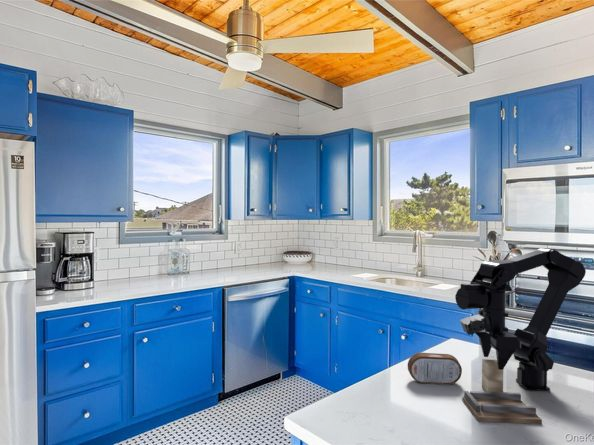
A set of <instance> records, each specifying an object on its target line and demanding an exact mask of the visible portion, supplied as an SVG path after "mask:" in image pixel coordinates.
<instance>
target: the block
mask: <svg viewBox="0 0 594 445" xmlns="http://www.w3.org/2000/svg"><path fill="white" fill-rule="evenodd" d="M481 388H482V389H483V390H484V392H504V369H503V370H499V369H498V364H497V359H485V358H484V359H482V361H481Z"/></svg>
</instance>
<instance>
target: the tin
mask: <svg viewBox="0 0 594 445" xmlns="http://www.w3.org/2000/svg"><path fill="white" fill-rule="evenodd" d="M462 370H463V369H462V366H461V363H460V361H459V360H458V359H457V358H456V357H455V356H454V355H452V354H449V353H435V352H433V353H432V352H418V353H415V354H413V355H411V356H410V358H409V359H408V362H407V371H408V373H409V375H410V377H411V378H412V379H413V380H414V381H416V382H418V383H419V384H430V385H431V384H434V385H453V384H455V383H458V381H459V380H460V379H461V377H462V374H463V372H462Z"/></svg>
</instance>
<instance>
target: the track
mask: <svg viewBox="0 0 594 445" xmlns="http://www.w3.org/2000/svg"><path fill="white" fill-rule="evenodd" d="M469 391H470V392H469ZM461 400H462V402H463V403H464V405H465V406H466V407H467V409H468V410H469V411H470V412H471V413H472V415H473V416H474V417H475V419H476V420H477V421H478V422H485V423H486V422H488V423H510V424H512V423H514V424H537V425H538V424H539V425H542V423H543V420H542V418H541V417H540V416H538V414H537V407H536V406H535V405H527V404H526V403H524V401H523V400H522V394H521V393H520V392H512V391H511V392H510V391H509V392H508V391H507V392H506V391H505V392H504V391H503V392H486V391H482V390H481V391H478V390H477V391H476V390H474V391H473V390H464V391H463V396H462V397H461Z"/></svg>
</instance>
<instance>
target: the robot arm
mask: <svg viewBox="0 0 594 445" xmlns="http://www.w3.org/2000/svg"><path fill="white" fill-rule="evenodd" d="M539 267H543V268H544V269H546V270H547V281H548V284H547V286H546V290H545V291H544V293H543V295H542V297H541V299H540V300H539V303H538V304H537V307H536V309H535V310H534V313H533V315H532V317H531V319H530V321H529V323H528V325H527V326H526V327H525V328H523V329H521V328H516V329H515V332H514V334H513V333H511V332H509V328H508V327H507V326H506V318H509V312H506V292H512V291H513V288H512V287H510V285H509V284H508V283H509V282H511V281H513V280H514V279H515V278H516V276H517V275H519V274H522V273H524V272H527V271H530V270H533V269H536V268H539ZM585 276H586V268H585V266H584V264H583V263H582V262H581V261H579V260H575V259H573V258H571V257H569V256H566V255H564V254H563V253H561V252H560V251H558V250H556V249H555V248H546V247H540V248H538V249H536V250H534V251H530V252H527V253H524V254H520V255H517V256H515V257H511V258H509V259H503V260H502V259H500V260H499V259H496V260H494V259H493V260H487V261H485V260H484V261H483V262H481V263H480V266H479V268H478V270H477V272H476V274H474V276H473V277H472V279H471V281H470V282H469V283H461V284H460V287H459V288H458V289H457V291H456V294H455V295H454V298H455V302H456V305H457V307H458V308H460V310H473V309H478V311H477V312H478V314H474V315H470V316H468V317H465V318H462V319H460V320H459V322H460V324H461V328H462V330H463V332H464V333H466V334H467V335H468V336H469V335H470V336H471V335H474V334H475V336H477V338H478V340H479V343H480V347H481V352H482V355H483V357H485V358H488V357H489V356H490V353H491V350H492V348H493V349H494V350H495V353H496V354H495V355H496V360H497V364H498V369H499V370H503V371H504V369H505V367H506V365H507V364H508V362H509V361H510V359H511V357H512V356H513V358H514V360H515V361H517V362H518V367H517V371H516V374H517V375H516V378H515V381H516V382H517V383H518V384H519V385H520V386H521V387H523V388H524V389H525V390H527V391H551V388H550V387H549V386H548V372H549V370H552V369H553V368H554V363H555V362H554V360H553V359H552V358H551V356H549V355H548V354H547V351H548V348H549V345H548V338H547V335H548V333H549V331H550V329H551V327H552V325H553V323H554V321H555V319H556V317H557V314H558V313H559V311H560V309H561V307H562V305H563V302H564V301H565V299H566V297H567V295H568V293H569V292H570V291H572V290H573V289H574V288H576V287H579V285H580V283H581V282H582V281H583V279H584V277H585Z"/></svg>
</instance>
